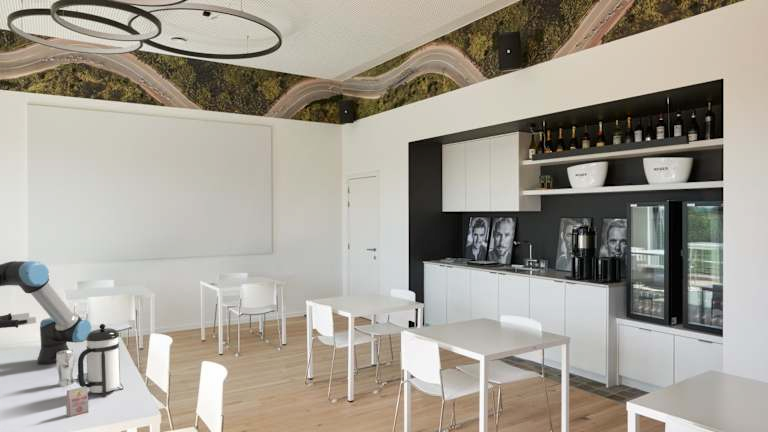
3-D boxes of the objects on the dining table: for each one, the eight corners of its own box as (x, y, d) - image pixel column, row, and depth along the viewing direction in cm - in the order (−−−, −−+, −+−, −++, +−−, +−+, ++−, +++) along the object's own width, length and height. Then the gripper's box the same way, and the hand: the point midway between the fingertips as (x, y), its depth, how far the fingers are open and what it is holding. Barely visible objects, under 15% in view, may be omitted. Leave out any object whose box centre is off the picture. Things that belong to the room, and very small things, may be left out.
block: (82, 379, 241) (101, 374, 247) (77, 375, 247) (95, 370, 253) (83, 384, 241) (102, 379, 247) (77, 379, 247) (96, 375, 253)
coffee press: (84, 389, 232) (82, 322, 232) (124, 384, 238) (122, 318, 238) (78, 403, 216) (76, 331, 216) (122, 396, 222) (119, 326, 222)
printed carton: (66, 414, 204) (65, 389, 204) (85, 409, 209) (85, 385, 208) (69, 417, 201) (68, 391, 201) (88, 412, 206) (87, 387, 206)
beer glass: (78, 382, 242) (77, 350, 242) (64, 387, 236) (63, 354, 235) (67, 381, 244) (66, 349, 244) (53, 386, 238) (52, 353, 238)
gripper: (-31, 330, 229) (26, 321, 244) (-23, 339, 211) (38, 330, 226) (-32, 313, 229) (26, 306, 244) (-24, 321, 211) (38, 313, 226)
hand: (32, 317), depth 235 cm, fingers open, 13 cm apart
